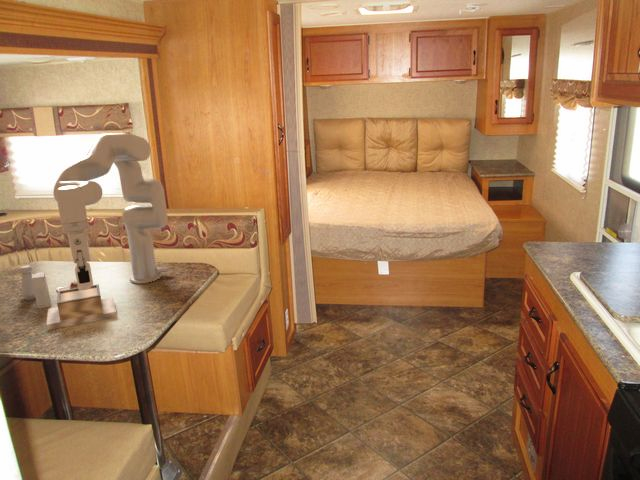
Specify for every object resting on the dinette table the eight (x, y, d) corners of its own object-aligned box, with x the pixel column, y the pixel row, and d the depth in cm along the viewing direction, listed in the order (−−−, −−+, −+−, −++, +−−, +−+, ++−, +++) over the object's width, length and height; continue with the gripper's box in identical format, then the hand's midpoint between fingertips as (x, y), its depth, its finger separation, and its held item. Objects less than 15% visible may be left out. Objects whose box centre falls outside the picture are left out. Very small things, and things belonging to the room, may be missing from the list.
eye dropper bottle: (74, 288, 167) (67, 253, 163) (90, 283, 171) (84, 249, 167) (81, 291, 164) (75, 256, 160) (97, 286, 168) (91, 251, 165)
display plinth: (113, 302, 195) (110, 281, 193) (116, 316, 183) (113, 294, 180) (49, 313, 186) (44, 292, 184) (47, 330, 174) (43, 306, 172)
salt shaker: (32, 301, 198) (25, 269, 194) (19, 300, 199) (12, 268, 195) (42, 295, 203) (36, 264, 199) (30, 294, 204) (23, 263, 200)
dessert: (55, 291, 208) (53, 280, 207) (86, 283, 216) (84, 272, 214) (64, 300, 200) (62, 288, 198) (96, 291, 207) (94, 280, 206)
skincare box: (50, 306, 193) (45, 276, 189) (37, 309, 191) (31, 278, 187) (51, 300, 198) (45, 271, 194) (37, 303, 196) (31, 273, 192)
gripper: (89, 231, 155) (98, 286, 161) (87, 217, 170) (95, 268, 175) (61, 234, 152) (72, 291, 158) (62, 220, 167) (71, 272, 173)
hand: (84, 278), depth 166 cm, fingers closed on eye dropper bottle, 5 cm apart
